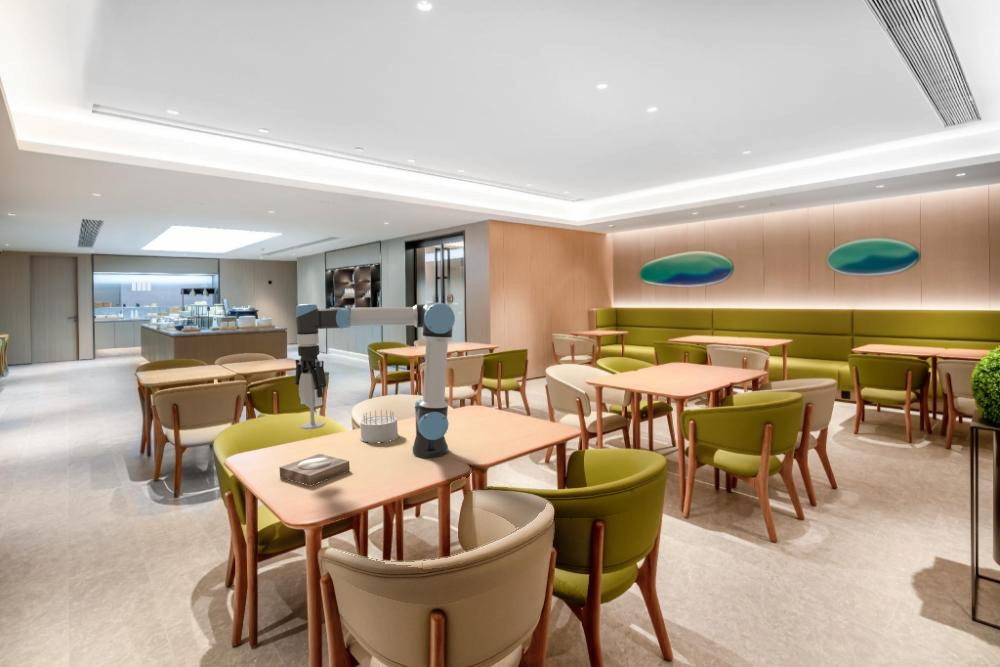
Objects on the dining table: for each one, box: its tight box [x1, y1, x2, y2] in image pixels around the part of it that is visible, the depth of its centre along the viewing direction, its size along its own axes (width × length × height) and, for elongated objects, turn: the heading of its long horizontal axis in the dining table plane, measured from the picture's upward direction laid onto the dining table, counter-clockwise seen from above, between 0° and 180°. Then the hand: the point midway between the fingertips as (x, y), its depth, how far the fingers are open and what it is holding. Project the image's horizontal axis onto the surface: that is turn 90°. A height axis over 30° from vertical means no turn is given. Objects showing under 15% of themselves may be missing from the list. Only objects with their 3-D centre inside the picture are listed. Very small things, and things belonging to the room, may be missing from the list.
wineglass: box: [298, 372, 326, 430], centre depth 192 cm, size 9×9×21 cm
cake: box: [359, 409, 400, 444], centre depth 241 cm, size 18×18×13 cm
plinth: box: [279, 453, 351, 486], centre depth 194 cm, size 18×18×4 cm
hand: (311, 404), depth 192 cm, fingers closed on wineglass, 8 cm apart
